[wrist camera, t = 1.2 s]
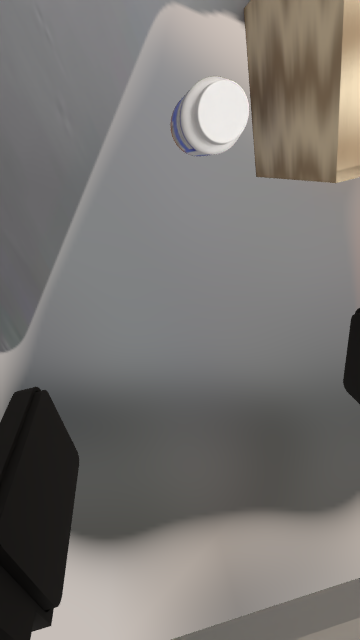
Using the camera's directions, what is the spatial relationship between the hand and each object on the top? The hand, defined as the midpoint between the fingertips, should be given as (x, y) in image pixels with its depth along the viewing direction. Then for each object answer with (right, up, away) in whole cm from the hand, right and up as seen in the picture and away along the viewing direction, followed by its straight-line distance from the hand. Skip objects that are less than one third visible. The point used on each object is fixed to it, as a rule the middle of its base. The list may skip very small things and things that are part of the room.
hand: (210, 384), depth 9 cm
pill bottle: (+1, +22, +22) cm, 31 cm away
